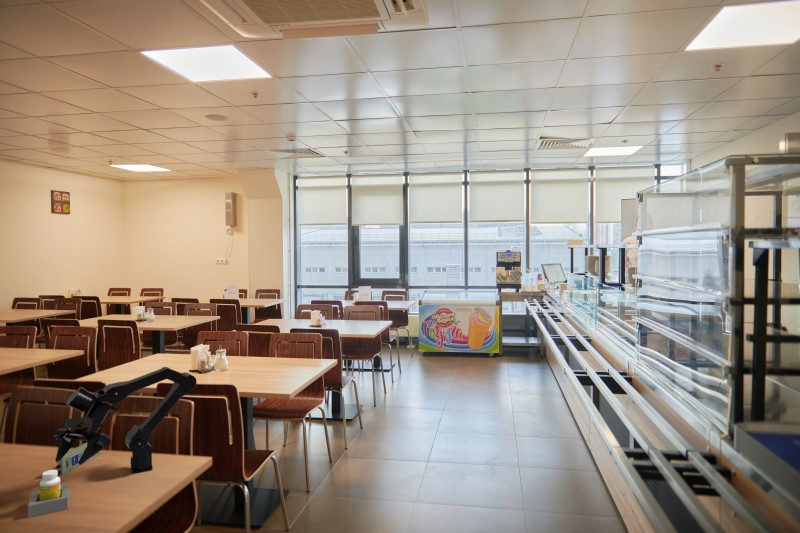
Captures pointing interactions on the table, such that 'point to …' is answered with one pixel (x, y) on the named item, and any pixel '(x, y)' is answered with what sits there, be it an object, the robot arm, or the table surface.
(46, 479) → the supplement bottle
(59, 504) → the dock
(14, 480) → the table surface
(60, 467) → the handheld radio
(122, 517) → the table surface
